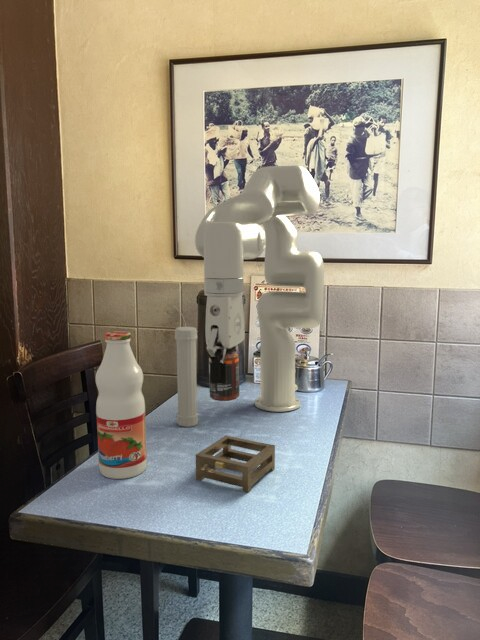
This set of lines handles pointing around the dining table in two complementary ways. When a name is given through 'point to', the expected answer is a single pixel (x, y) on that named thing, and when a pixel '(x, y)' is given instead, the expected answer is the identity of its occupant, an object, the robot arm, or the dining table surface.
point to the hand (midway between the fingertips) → (224, 377)
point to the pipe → (186, 375)
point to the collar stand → (235, 462)
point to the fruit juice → (120, 410)
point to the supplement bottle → (232, 385)
